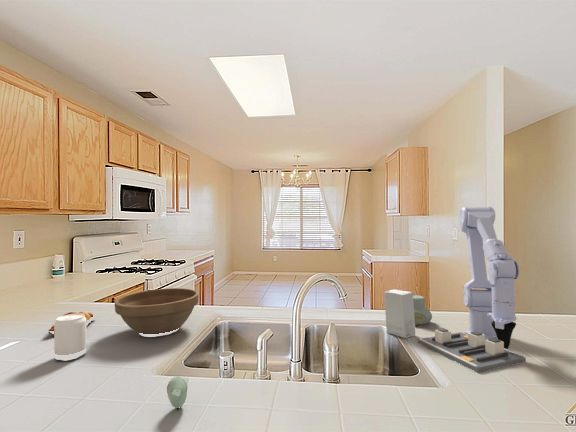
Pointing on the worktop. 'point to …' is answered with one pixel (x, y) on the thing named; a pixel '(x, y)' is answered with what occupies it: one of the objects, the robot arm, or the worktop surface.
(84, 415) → the worktop surface
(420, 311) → the air freshener
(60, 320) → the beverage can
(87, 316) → the croissant
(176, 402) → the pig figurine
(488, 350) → the switch
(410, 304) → the skincare box
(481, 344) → the switch middle
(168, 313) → the brown round bowl
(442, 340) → the switch
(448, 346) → the console
